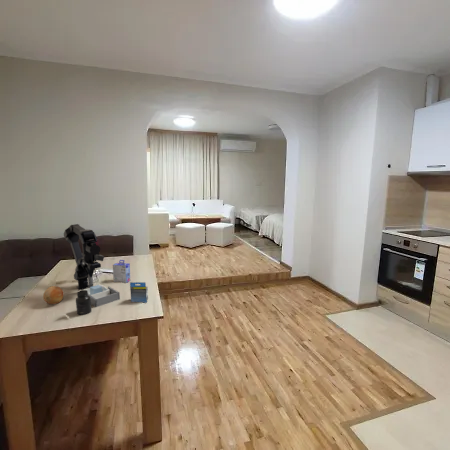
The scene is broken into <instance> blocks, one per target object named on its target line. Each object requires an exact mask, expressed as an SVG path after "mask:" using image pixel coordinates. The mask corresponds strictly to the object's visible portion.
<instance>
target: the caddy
mask: <svg viewBox="0 0 450 450" xmlns="http://www.w3.org/2000/svg"><path fill="white" fill-rule="evenodd" d="M93 276H94V275H93ZM93 276H92V277H90V276H89V274H88V285H89V287H88V288H85V289H84V290H87V291H88V294H90V287H92V286H94V277H93ZM99 285H100V286H101V287H102V292H100V293H96V294H93V295H91V296H92V297H94V298H95V299H98V298H101V297H104V296H108V295H110V290H109V289H108V287H106V286H105V285H103V284H99Z"/></svg>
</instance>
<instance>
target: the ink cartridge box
mask: <svg viewBox="0 0 450 450" xmlns="http://www.w3.org/2000/svg"><path fill="white" fill-rule="evenodd" d="M130 264H131V263H127V262H126V261H125V259H119V261H118V262H116V263H114V264H112V275H113V276H112V277H113V278H112V279H113V283H116V282H121V283H123V284H127V283H130V282H131V265H130Z"/></svg>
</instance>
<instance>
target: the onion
mask: <svg viewBox="0 0 450 450" xmlns="http://www.w3.org/2000/svg"><path fill="white" fill-rule="evenodd" d="M64 295H65V294H64V291H63V288H61V287H59V286H57V285H52V286H49V287H48V288H46V290H45V291H44V292H43V296H42V299H43V300H44V302H45V303H46V304H47V305H57V304H59V303H60V302H62V300H63V298H64Z"/></svg>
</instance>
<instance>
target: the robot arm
mask: <svg viewBox="0 0 450 450" xmlns="http://www.w3.org/2000/svg"><path fill="white" fill-rule="evenodd" d="M63 237H64V239H65V241H66V242H67V243H69V244H70V247H71V250H72V254H73V257H74V261H75V265H76V266H75V269H74V270H75V271H74V274H73V278H74V280H76V281H77V286H76V288H77V289H78V290H79V291H82V290H85V289H88V287H89V282H88V274H89V276H90V277H92V276H94V272H95V269H101V267H102V264H101V263H100V262H103V261H104V260H105V259H104V258H105V256H104V255H102V254H100V251H101V248H100V246H99V245H98V244H97V243H98V237H97V235H96V233H95V231H94V230H93V229H87V228H86V229H85V228H84V227H82V226H81V225H80V224H78V223H77V224H76V223H74V224H71V225H69V227H68V228H66V229H65V230H64V232H63ZM79 240H80V242H81V246H82V249H81V246H80V243H79ZM99 261H100V262H99Z"/></svg>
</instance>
